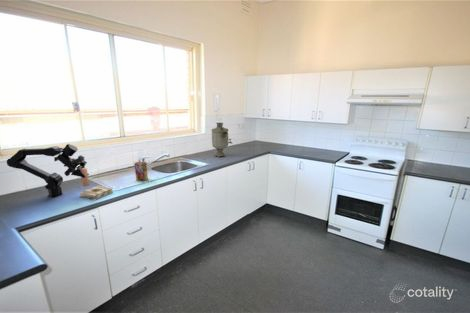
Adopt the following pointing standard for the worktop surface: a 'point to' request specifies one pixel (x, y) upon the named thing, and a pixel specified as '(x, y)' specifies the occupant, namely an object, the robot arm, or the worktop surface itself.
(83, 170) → the terracotta peg
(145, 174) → the candy box
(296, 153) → the worktop surface
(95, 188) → the pocket block
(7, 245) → the worktop surface
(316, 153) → the worktop surface
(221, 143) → the samovar
